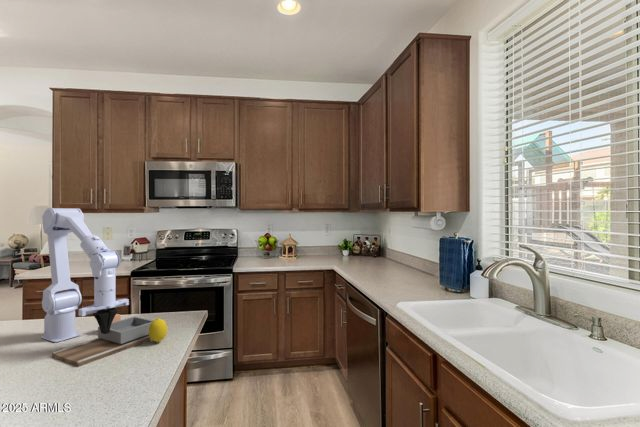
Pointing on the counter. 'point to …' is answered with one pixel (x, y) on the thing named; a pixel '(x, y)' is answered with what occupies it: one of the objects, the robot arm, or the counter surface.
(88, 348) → the track
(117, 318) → the block
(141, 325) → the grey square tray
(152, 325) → the lemon
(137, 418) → the counter surface
